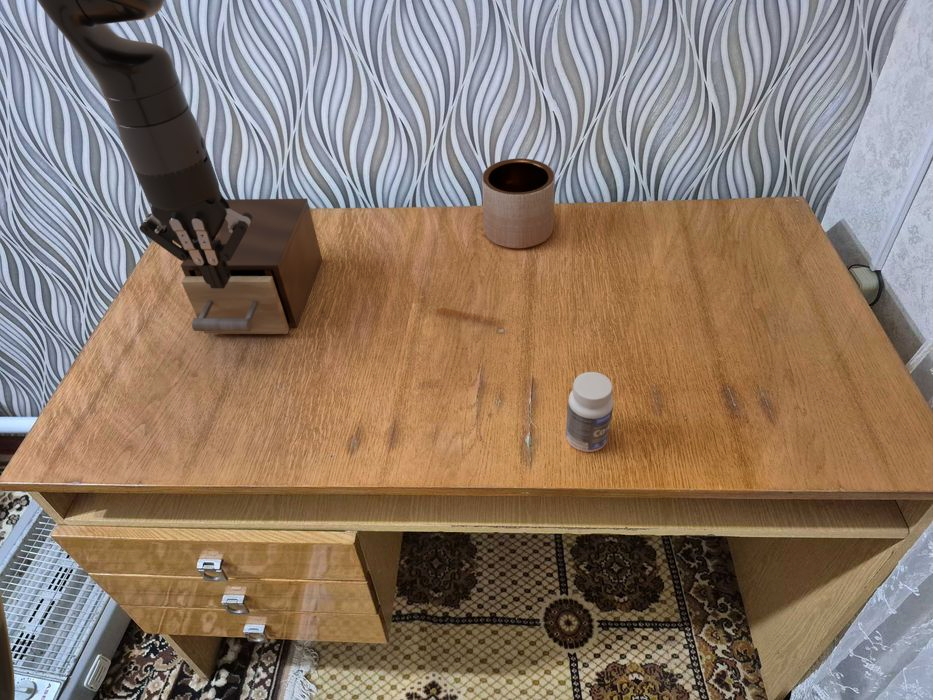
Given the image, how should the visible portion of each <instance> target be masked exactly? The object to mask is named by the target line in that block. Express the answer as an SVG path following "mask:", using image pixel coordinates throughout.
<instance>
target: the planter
mask: <svg viewBox="0 0 933 700" xmlns="http://www.w3.org/2000/svg"><path fill="white" fill-rule="evenodd" d="M555 186H556V174H555V171H554V170H553V169H552V167H551V166H549V165H548V164H547V163H545V162H542V161H539V160H536V159H530V158H509V159H503V160H499V161H497V162H494V163H493V164H491V165H490V166H488V167H487V168H486V169H485V170H484V171H483V172H482V175H481V187H482V226H483V227H482V228H483V232H484V235H485V237H486V238H487V239H488V240H489V241H490V242H492V243H493V244H496V245H498V246H500V247H504V248H508V249H519V250H520V249H527V248H532V247H534V246H538V245H540V244H542V243H544V242H546V241H547V240H549V238H550V237H551V235H552V234H553V231H554V224H555V221H554V219H555Z"/></svg>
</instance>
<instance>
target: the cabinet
mask: <svg viewBox="0 0 933 700" xmlns="http://www.w3.org/2000/svg"><path fill="white" fill-rule="evenodd" d="M226 200H227V201H228V203H229V206H230V209H232V210H233V211H235V212H237V213H239V214H241V215H242V214H243V213H249V214H251V215H252V217H253V219H252V221H251V223H250V225H249V227H248V229H247V231H246V233H245V235H244V236H243V238H242V240H241V242H240V243H239V245H238V247H237V249H236V251H235V252H234V254H233V256H232V258H231V260H229V261H226V262H227V265H228V268H229V270H273V272H274V275H275V278H276V281H277V284H278V287H279V290H280V293H281V297H282V300H283V303H284V306H285V309H286V312H287V315H288V316H287V319H286V320H287V323H288V326H289V329H297V328H298V326H299V324H300V321H301V318H302V315H303V314H304V313H303V312H304V310H305V307H306V306H307V305H306V304H307V302H308V300H309V296H310V294H311V291H312V288H313V285H314V283H315V280H316V277H317V275H318V272H319V269H320V266H321V264H322V261H323V257H322V253H321V248H320V245H319V240H318V236H317V233H316V229H315V228H316V227H315V224H314V221H313V220H314V219H313V217H312V213H311V209H310V208H311V207H310V204H309V201H308V198H244V199H242V198H240V199H239V198H238V199H237V198H235V199H226ZM221 232H222V235H221V239H222V243H223V244H226V243H227V242H228V240H229V238H230V236H231V234H232V233H230V232H229V229H228V222H227V220H226V219H225V221H224V223H223V225H222V228H221ZM180 268H181V270H182V272H183V274H184V277H185V276H196V274H195V272H194V271H195V270H200V269H199V267H198V265H197V264H195V263H194V261H192V260H188V259H187V260H186V261H181V264H180Z"/></svg>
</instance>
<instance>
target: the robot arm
mask: <svg viewBox="0 0 933 700" xmlns="http://www.w3.org/2000/svg"><path fill="white" fill-rule="evenodd" d="M37 2H38V3H39V5H40V7H41V8H42V10H43V11H44V13H45V14H46V15H47V16H48V18H49V19H50V20H51V21H52V23H53V24H54V25H55V26H56V28H57V29H58V30H59V31H60V33H61V34H62V35H63V36H64V38H65V39H66V40H67V42H68V43H69V44H70V46H72V47H71V48H73V50H74V51H75V52H76V53H77V55H78V56H79V58H80V59H81V60H82V62H83V63H84V65H85V66H86V67H87V69H88V70H89V71H90V73H91V74H92V76H93V77H94V79H95V81H96V82H97V84H98V86H99V88H100V91H101V93H102V95H103V97H104V100H105V102H106V104H107V106H108V108H109V110H110V112H111V115H112V117H113V120H114V122H115V124H116V127H117V131H118V134H119V138H120V140H121V144H122V146H123V149H124V151H125V153H126V155H127V157H128V160H129V162H130V165H131V166H132V169H133V171H134V173H135V175H136V178H137V180H138V183H139V184H140V187H141V189H142V191H143V193H144V196H145V198H146V200H147V202H148V203H149V204H150V205H151V207H150V212H151V213H148V215H147V216H146V217H145V219H144V221H142V223H141V224H140V226H139V231H140V232H141V233H142V234H143V235H145V236H146V237H147V238H148V239H150V240H152V241H153V242H154V243H156V244H157V245H158V246H160V247H161V248H162V249H164V250H166V251H167V252H168V253H169V254H170V255H172V256H173V257H174V258H176V259H178V260H179V261H181V262H183V261H186V260H187V259H188V260H192V261H194V263H195V264H197V265H198V267H199V269H200V271H201V274H202V276H203V279H204V281H205V282H206V283H207V284H210V287H211V288H212V289H223V288H225V286H226V284H227V283H228V281H229V279H230V277H231V273H230V270H229V268H228V265H227V262H226V261H229V260H231V258H232V256H233V254H234V252H235V251H236V249H237V247H238V245H239V243H240V242H241V240H242V238H243V236H244V235H245V233H246V231H247V229H248V227H249V225H250V223H251V221H252V219H253V217H252V215H251V214H249V213H243V214H242V215H241V214H239V213H237V212H235V211H233V210H232V209H230V206H229V203H228V201H227V200H228V199H226V198H225V197H224V195H223V194H222V193H221V189H220V184H219V180H218V177H217V175H216V172H215V169H214V165H213V163H212V160H211V157H210V154H209V152H208V149H207V145H206V140H205V138H204V137H203V134H202V132H201V129H200V126H199V124H198V122H197V120H196V118H195V116H194V114H193V112H192V110H191V108H190V106H189V102H188V100H187V98H186V94H185V92H184V89H183V86H182V83H181V80H180V78H179V75H178V72H177V70H176V67H175V64H174V62H173V60H172V59H173V58H172V57H171V55H170V53H169V52H168V51H167V50H166V49H165V48H164V47H162V46H161V45H159V44H156V43H152V42H147V41H139V40H132V39H129V38H125V37H122V36H119V35H118V34H116V33H115V32H114V31H112V29H111V28H110V27H109V26H108V24H117V23H127V22H136V21H143V20H144V21H145V20H147V19H150V18H153V17H155V15H157V14H158V13H159V12H160V11H161V10H162V8H163V6H164V4H165V3H166V0H37ZM225 219H226V220H227V222H228V229H229V232H230V233H232V234H231V236H230V238H229V240H228V242H227V243H226V244H223V243H222V239H221V235H222V232H221V228H222V225H223V223H224V221H225ZM11 646H12V645H11V642H10V635H9V628H8V623H7V618H6V613H5V608H4V602H3V596H2V591H1V589H0V700H16V681H15V670H14V669H15V668H14V659H13V653H12V647H11Z"/></svg>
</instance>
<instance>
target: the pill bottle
mask: <svg viewBox="0 0 933 700" xmlns="http://www.w3.org/2000/svg"><path fill="white" fill-rule="evenodd" d="M572 385H573V386H572V390H571V391H570V393H569V395H568V400H567V410H566V412H567V413H566V421H565V437H566V441H567V442H568V444H569V445H570V446H571V447H573V448H574V449H576V450H578V451H580V452H584V453H591V452H597V451H600V450H601V449H602V448H604V447H605V446H606V444H607V442H608V440H609V436H610V430H611V425H612V424H611V423H612V416H613V411H614V405H615V404H614V403H615V402H614V397H613V384H612V381H611V379H609V377H607V375H605V374H602V373H601V372H596V371H586V372H583V373H580V374H579V375H578V376H576V377H575V378H574V381H573V384H572Z"/></svg>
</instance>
